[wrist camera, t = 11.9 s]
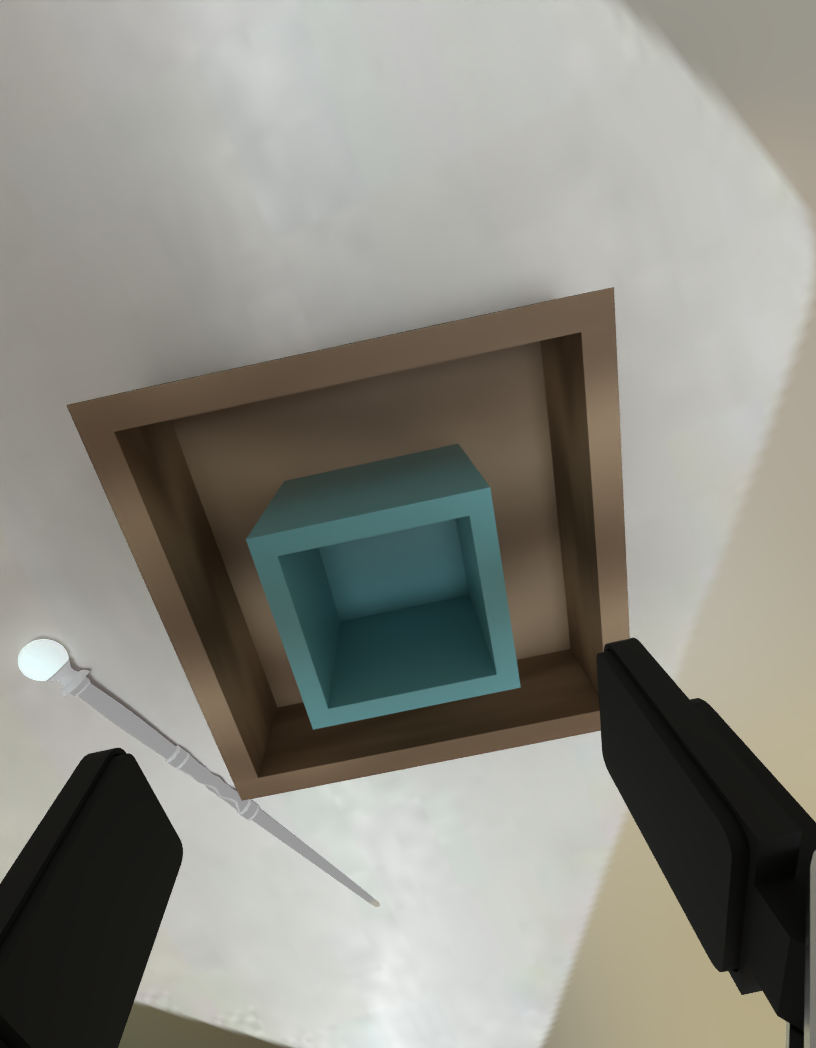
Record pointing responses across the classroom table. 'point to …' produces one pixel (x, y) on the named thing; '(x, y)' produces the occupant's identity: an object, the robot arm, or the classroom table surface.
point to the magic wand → (159, 744)
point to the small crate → (387, 586)
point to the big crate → (358, 438)
